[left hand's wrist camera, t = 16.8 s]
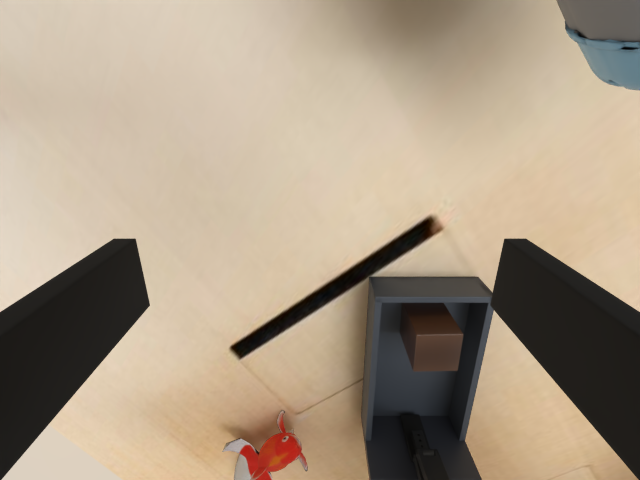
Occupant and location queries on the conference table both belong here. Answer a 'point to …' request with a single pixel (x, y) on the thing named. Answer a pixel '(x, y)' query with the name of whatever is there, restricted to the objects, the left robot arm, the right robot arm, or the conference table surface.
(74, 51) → the conference table surface
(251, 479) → the fish
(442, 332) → the block
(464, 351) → the dark grey open box
